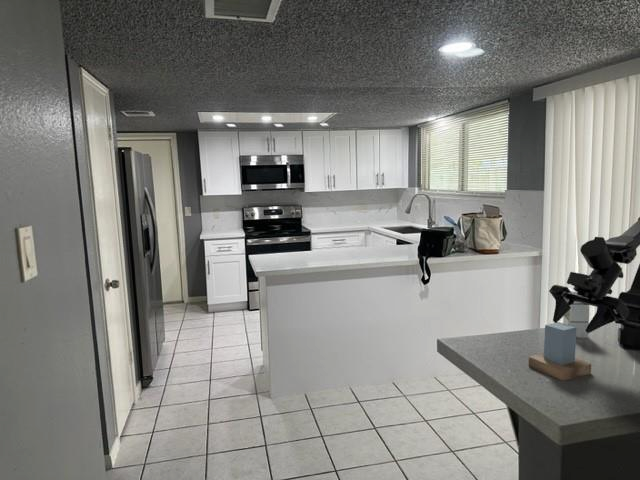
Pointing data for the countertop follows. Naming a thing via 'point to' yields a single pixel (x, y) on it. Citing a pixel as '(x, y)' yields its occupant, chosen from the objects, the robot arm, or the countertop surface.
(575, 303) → the syrup box
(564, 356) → the slate block
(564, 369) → the walnut block
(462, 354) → the countertop surface
